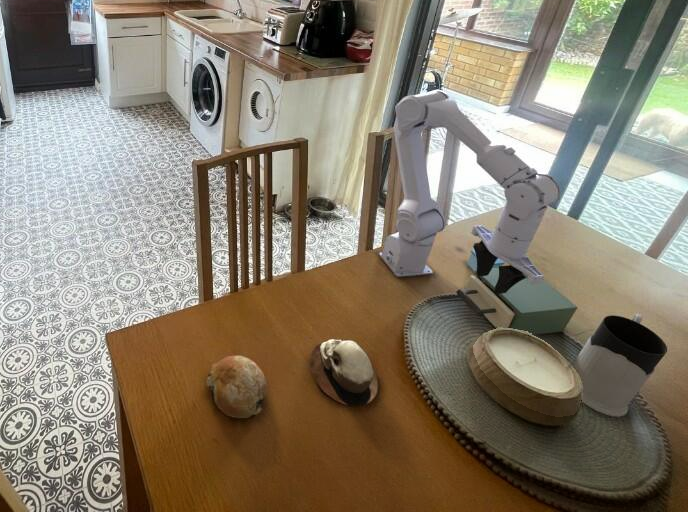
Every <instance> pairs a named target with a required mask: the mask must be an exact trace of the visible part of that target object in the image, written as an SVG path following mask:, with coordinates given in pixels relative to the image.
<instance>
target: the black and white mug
mask: <svg viewBox="0 0 688 512" xmlns="http://www.w3.org/2000/svg"><path fill="white" fill-rule="evenodd" d="M642 320H643V316H642V315H641V314H639V313H636V314H634V316H633V318H632V319H631V318H628V317H624V316H620V315H607V316H605V317H604V318H603V319H602V321H601V322H600V324H599V325H598V326H597V329H596V330H595V332H594V333H592V334H591V335H590V336H589V338H588V339H587V341H586V343H585V344H584V346H583V347H582V349H581V350H580V352H579V353H578V355H577V356H576V358H575V360H574V361H573V363H572V364H571V366H573V368H574V369H575V370H576V372H577V373H578V374H579V376H580V378H581V381H582V385H583V396H582V401H581V403H583V404H585V406H587V407H589V408H591V409H593V410H595V411H597V412H599V413H601V414H603V415H607V416H611V417H624V416H626V415H627V413H628V412H629V404H630V403H631V402H632V400H633V399H634V398H635V397H636V395H637V394H638V392H640V390H641V389H642V388H643V386H644V385H645V383H646V382H647V381H648V380H649V379H650V377H651V376H652V375H653V374H654V372H655V371H656V370H655V368H656V367H657V366H658V365H659V363H660V362H661V360H663V358H664V357H665V355H666V354H667V352H668V346H667V344H666V343H665V341H664V340H663V339H662V338H661V336H659V335H658V334H657V333H656V332H654V331H653V330H652V329H650V328H648V327H647V326H645V325H643V324H642V323H641V322H642Z"/></svg>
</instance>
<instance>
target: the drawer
mask: <svg viewBox="0 0 688 512" xmlns="http://www.w3.org/2000/svg"><path fill="white" fill-rule="evenodd" d="M455 293H456V294H457V296H458V297H459V298H460V299H461V300H462V301H463V302H464V303H465V305H467V306H468V308H469V309H470V310H471V311H472V312H473V313H474V314H475V315H476V316H477V317H482V316H484V317H485V318H486V319H487V320H488V321H489V322H490V323H491V324H492V325H493V326H494V327H495V328H496V327H503V328H508V327H510V325H511V323H512V321H513V319H514V317H515V316H516V314H517V312H516V311H515V310H514V309H513V308H511V307H510V306H509V305H508V304H507V303H506V302H505V301H504V300H503V299H502V298H501V297H500V296H499V295H498V294H497V293H496V292H495V291H494V290H493V289H492V288H491V287H490V286H489V285H488V284H486V283H485V282H484V281H483V280H481V281H480V280H479V279H478V278H477V277H476V276H475V275H474V274H473V275H469V277H468V280H467V282H466V285H465V286H464V290H463V289H461V288H459V289H457V290H456V291H455Z"/></svg>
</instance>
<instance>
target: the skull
mask: <svg viewBox="0 0 688 512" xmlns="http://www.w3.org/2000/svg"><path fill="white" fill-rule="evenodd" d="M309 368H310V372H311V375H312V376H313V379H314V380H315V382H316V384H317V385H318V387H319V388H320V389H321V391H323V392H324V394H326V395H327V396H328V397H330V398H331V399H333V400H334V401H336V402H338V403H340V404H343V405H346V406H349V407H361V406H365V405H367V404H369V403H371V402H372V401H373V400H374V398H375V397H376V396H377V393H378V389H379V382H378V377H377V376H378V375H377V374H376V373H377V372H376V370H375V369H374V367H373V365H372V363H371V360H370V358H369V357H368V355H367V354H366V352H365V351H364V350H363V349H362V348H361V347H360V345H358V343H357V342H356V341H353V340H341V339H340V338H339V339H333V338H332V339H328V340H327V341H324V342H321V343H319V344H317V345H316V346H315V347H314V348H313V350H312V351H311V354H310V358H309Z"/></svg>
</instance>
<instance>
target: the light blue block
mask: <svg viewBox="0 0 688 512" xmlns="http://www.w3.org/2000/svg"><path fill="white" fill-rule="evenodd" d="M466 265H467V266H468V267H469V268H470V269H472V271H474V272H476V270H477V258H476V253H475V250H474V249H472V250H470V255H469V258H468V260H467V263H466ZM504 265H505V261H503V260H501V259H499V258H498V259H497V260H496V262H495V263H494V265H493V267H492V269H493V268H499V266H504Z"/></svg>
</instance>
